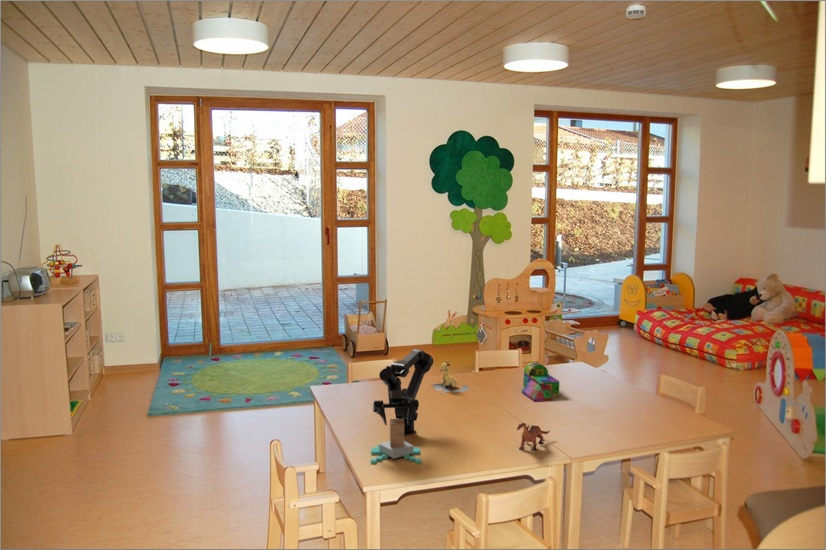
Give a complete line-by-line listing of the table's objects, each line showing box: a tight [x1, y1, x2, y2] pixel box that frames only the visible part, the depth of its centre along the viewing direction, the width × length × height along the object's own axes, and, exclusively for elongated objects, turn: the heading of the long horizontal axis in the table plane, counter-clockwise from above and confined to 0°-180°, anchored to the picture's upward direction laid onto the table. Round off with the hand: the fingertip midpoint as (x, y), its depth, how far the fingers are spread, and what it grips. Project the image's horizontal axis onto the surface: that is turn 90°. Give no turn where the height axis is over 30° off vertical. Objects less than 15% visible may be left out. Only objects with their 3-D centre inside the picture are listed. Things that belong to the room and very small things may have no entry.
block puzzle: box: [521, 361, 560, 403], centre depth 352 cm, size 25×17×14 cm
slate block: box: [379, 440, 413, 459], centre depth 270 cm, size 10×10×3 cm
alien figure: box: [370, 444, 422, 465], centre depth 271 cm, size 20×2×20 cm
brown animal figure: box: [516, 422, 551, 452], centre depth 278 cm, size 8×30×15 cm, turn 150°
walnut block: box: [389, 418, 405, 447], centre depth 269 cm, size 6×6×10 cm
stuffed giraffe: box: [430, 360, 470, 394], centre depth 359 cm, size 16×18×16 cm
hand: (397, 424), depth 269 cm, fingers open, 9 cm apart
